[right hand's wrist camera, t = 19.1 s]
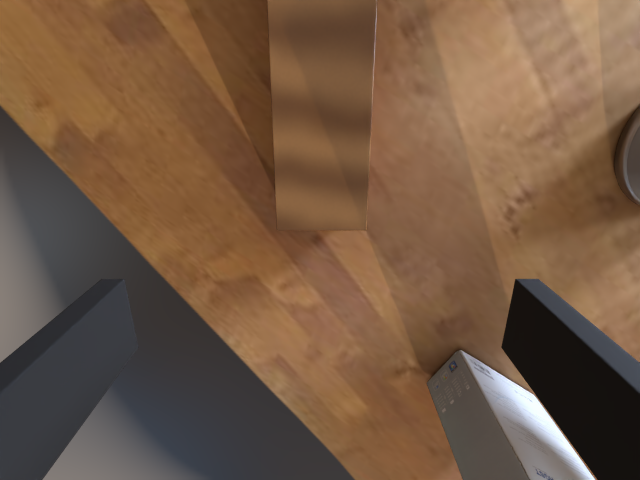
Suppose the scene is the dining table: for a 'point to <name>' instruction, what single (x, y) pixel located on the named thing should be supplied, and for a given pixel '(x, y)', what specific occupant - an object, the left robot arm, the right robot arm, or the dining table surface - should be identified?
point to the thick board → (321, 111)
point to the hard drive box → (499, 426)
